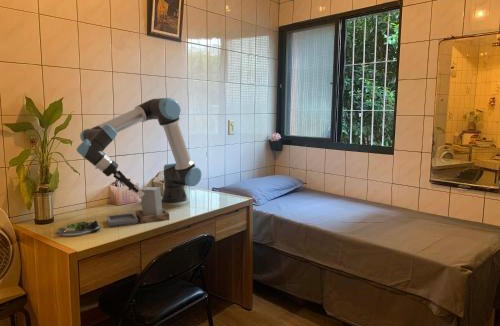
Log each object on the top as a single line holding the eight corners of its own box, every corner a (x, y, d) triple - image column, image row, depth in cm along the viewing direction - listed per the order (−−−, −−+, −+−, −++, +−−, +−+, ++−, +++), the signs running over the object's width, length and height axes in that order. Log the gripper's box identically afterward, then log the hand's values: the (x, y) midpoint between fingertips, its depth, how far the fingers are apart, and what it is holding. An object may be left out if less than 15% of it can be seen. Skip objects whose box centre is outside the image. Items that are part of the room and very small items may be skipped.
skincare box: (163, 216, 195) (161, 186, 193) (156, 220, 188) (154, 189, 186) (148, 215, 197) (147, 186, 195) (141, 219, 190) (139, 188, 188)
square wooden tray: (163, 213, 202) (162, 207, 202) (169, 219, 189) (169, 213, 189) (136, 216, 196) (135, 210, 195) (140, 223, 183) (140, 217, 183)
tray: (133, 217, 194) (133, 212, 193) (138, 223, 182) (137, 218, 182) (107, 220, 188) (106, 215, 188) (109, 227, 176) (109, 222, 176)
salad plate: (63, 242, 158) (62, 231, 157) (46, 233, 169) (45, 223, 169) (106, 231, 172) (106, 221, 172) (88, 224, 184) (87, 215, 183)
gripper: (99, 168, 190) (131, 194, 198) (103, 175, 168) (139, 204, 176) (109, 157, 192) (141, 183, 200) (115, 162, 169) (150, 191, 178)
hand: (140, 193), depth 188 cm, fingers open, 13 cm apart
